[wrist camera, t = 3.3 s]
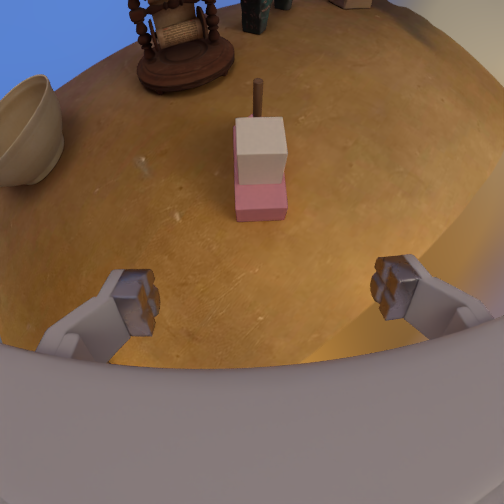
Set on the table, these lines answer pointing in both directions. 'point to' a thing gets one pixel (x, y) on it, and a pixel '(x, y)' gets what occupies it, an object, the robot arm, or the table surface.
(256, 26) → the ceramic cat
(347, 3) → the decorative block
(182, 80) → the scroll
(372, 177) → the table surface
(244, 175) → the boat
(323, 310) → the table surface
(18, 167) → the planter bowl
